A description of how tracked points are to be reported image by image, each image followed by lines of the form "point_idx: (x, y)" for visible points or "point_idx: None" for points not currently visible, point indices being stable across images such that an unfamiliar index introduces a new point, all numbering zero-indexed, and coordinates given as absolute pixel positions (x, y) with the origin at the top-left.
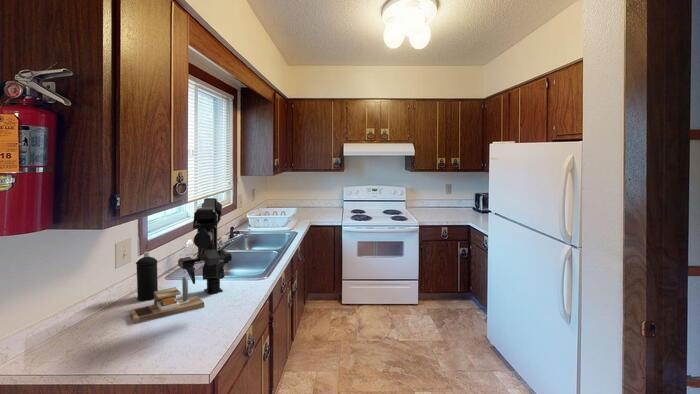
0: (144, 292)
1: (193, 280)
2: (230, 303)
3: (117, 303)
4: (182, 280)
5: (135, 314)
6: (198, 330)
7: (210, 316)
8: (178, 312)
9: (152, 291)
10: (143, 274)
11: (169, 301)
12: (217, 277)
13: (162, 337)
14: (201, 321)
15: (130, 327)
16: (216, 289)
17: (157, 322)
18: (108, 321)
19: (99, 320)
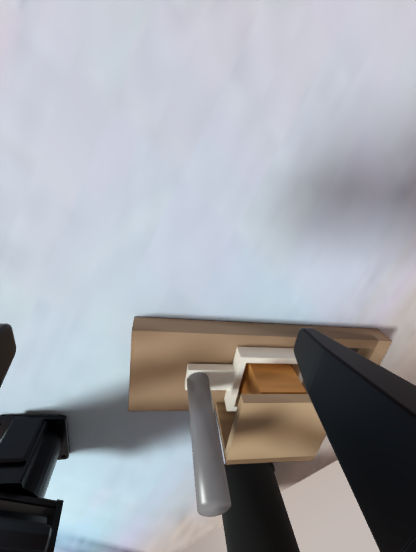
0: (273, 488)
1: (349, 351)
2: (4, 281)
3: (317, 470)
4: (227, 485)
5: None
6: (279, 84)
7: (156, 203)
8: (243, 324)
9: (250, 487)
10: None
11: (277, 379)
12: (2, 349)
13: (407, 148)
14: (215, 179)
15: (400, 312)
16: (23, 428)
17: (332, 295)
18: None
19: None
